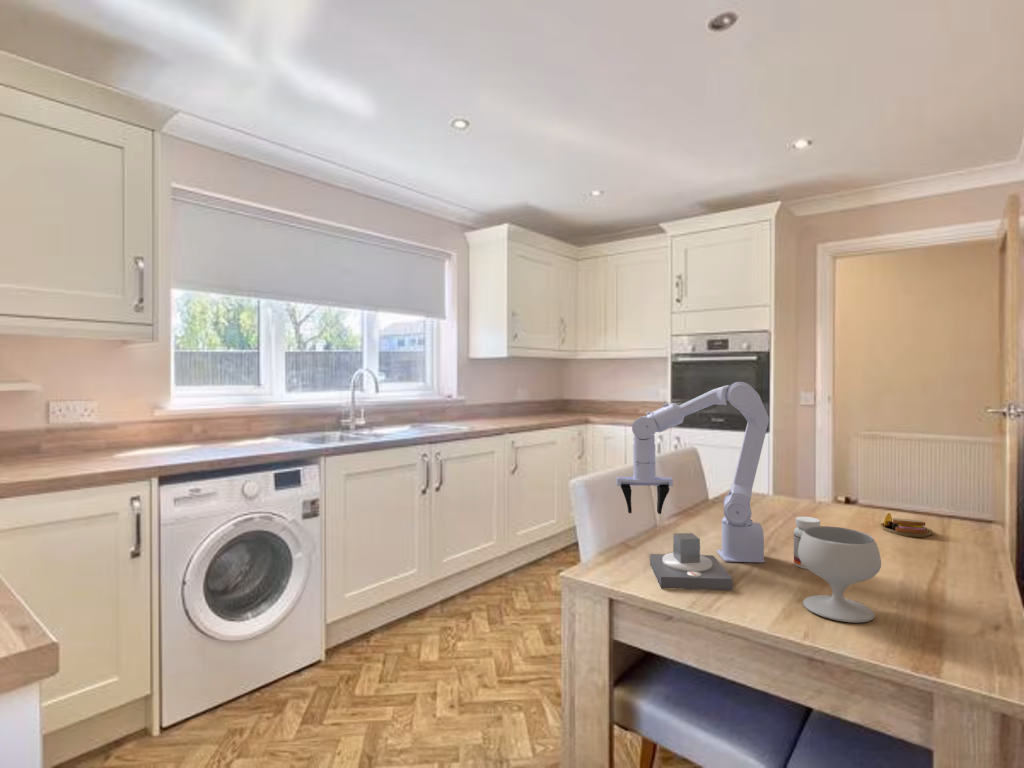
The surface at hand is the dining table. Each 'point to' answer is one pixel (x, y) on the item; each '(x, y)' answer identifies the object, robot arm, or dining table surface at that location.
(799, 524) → the pill bottle
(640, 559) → the dining table surface
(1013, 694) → the dining table surface
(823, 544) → the chalice
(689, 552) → the block
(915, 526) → the toy sandwich meal
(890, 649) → the dining table surface
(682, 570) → the kitchen scale
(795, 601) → the dining table surface
